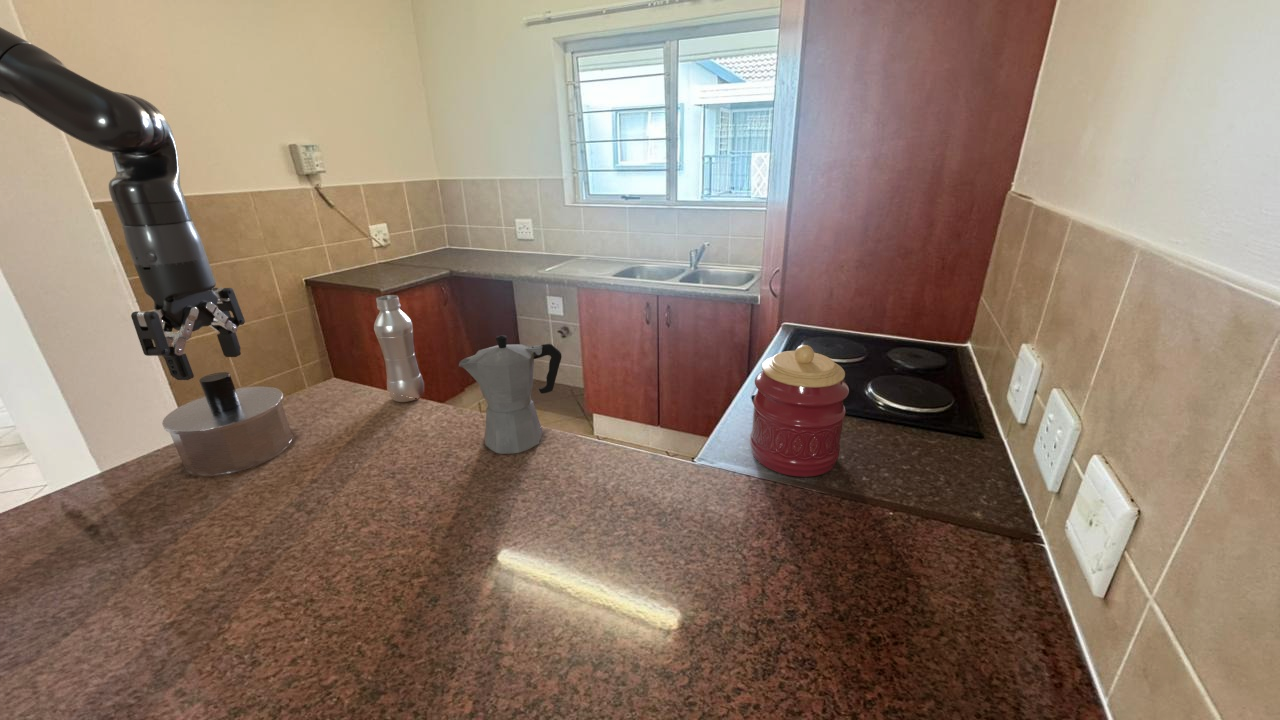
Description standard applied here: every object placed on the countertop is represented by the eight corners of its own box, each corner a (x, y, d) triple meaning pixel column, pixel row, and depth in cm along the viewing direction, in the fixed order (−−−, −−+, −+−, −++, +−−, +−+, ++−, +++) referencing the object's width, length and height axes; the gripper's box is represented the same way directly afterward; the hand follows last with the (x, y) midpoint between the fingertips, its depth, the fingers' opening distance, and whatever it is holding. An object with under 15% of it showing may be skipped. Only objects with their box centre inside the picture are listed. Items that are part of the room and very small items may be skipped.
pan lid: (136, 438, 70) (118, 398, 68) (221, 392, 84) (208, 358, 82) (236, 438, 70) (222, 399, 67) (305, 392, 83) (295, 358, 81)
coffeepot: (475, 464, 75) (456, 352, 68) (469, 434, 83) (452, 332, 76) (574, 442, 80) (566, 337, 74) (560, 416, 89) (552, 319, 82)
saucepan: (161, 477, 73) (141, 432, 71) (234, 430, 86) (219, 390, 83) (251, 478, 73) (234, 433, 70) (311, 430, 85) (299, 391, 83)
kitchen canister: (845, 483, 69) (865, 366, 63) (750, 474, 72) (759, 360, 65) (830, 435, 81) (845, 332, 75) (748, 429, 83) (756, 329, 77)
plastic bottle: (415, 388, 101) (395, 291, 93) (433, 397, 97) (414, 296, 89) (383, 399, 96) (359, 298, 88) (400, 409, 92) (377, 304, 84)
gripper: (189, 248, 75) (224, 349, 81) (88, 268, 61) (139, 387, 67) (238, 248, 74) (269, 350, 80) (147, 268, 61) (193, 388, 67)
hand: (210, 367), depth 74 cm, fingers open, 8 cm apart
